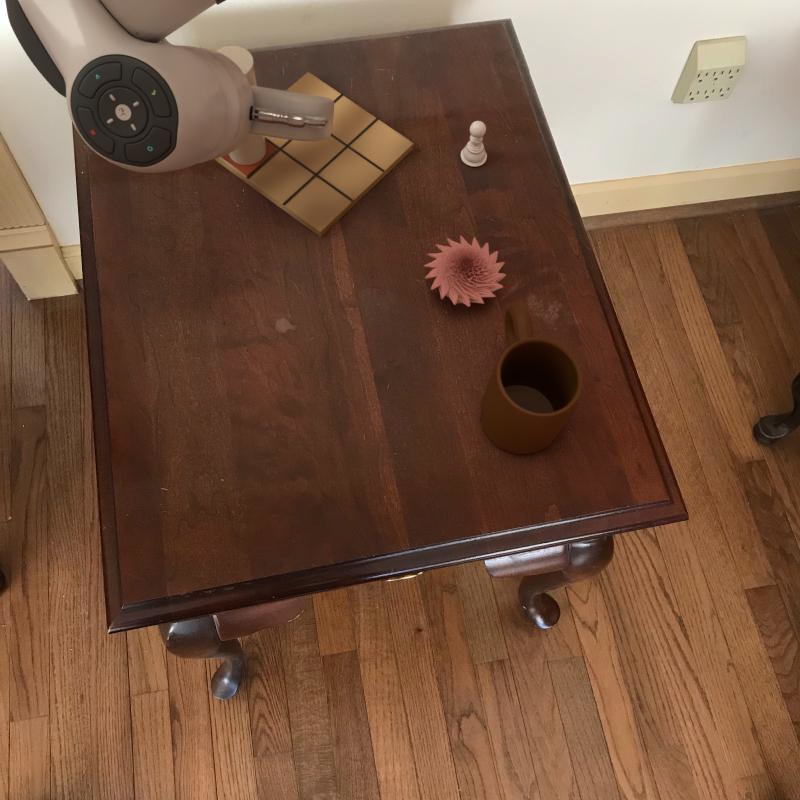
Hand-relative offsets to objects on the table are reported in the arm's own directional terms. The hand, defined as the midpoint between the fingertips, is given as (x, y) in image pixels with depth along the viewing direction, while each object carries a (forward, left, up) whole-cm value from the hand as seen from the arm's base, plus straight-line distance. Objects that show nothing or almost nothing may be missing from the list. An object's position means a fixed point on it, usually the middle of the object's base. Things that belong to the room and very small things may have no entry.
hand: (240, 100), depth 82 cm
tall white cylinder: (0, -1, -6) cm, 6 cm away
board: (+5, +4, -7) cm, 10 cm away
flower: (+27, +1, -8) cm, 28 cm away
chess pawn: (+18, +15, -8) cm, 25 cm away
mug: (+38, -5, -8) cm, 39 cm away
